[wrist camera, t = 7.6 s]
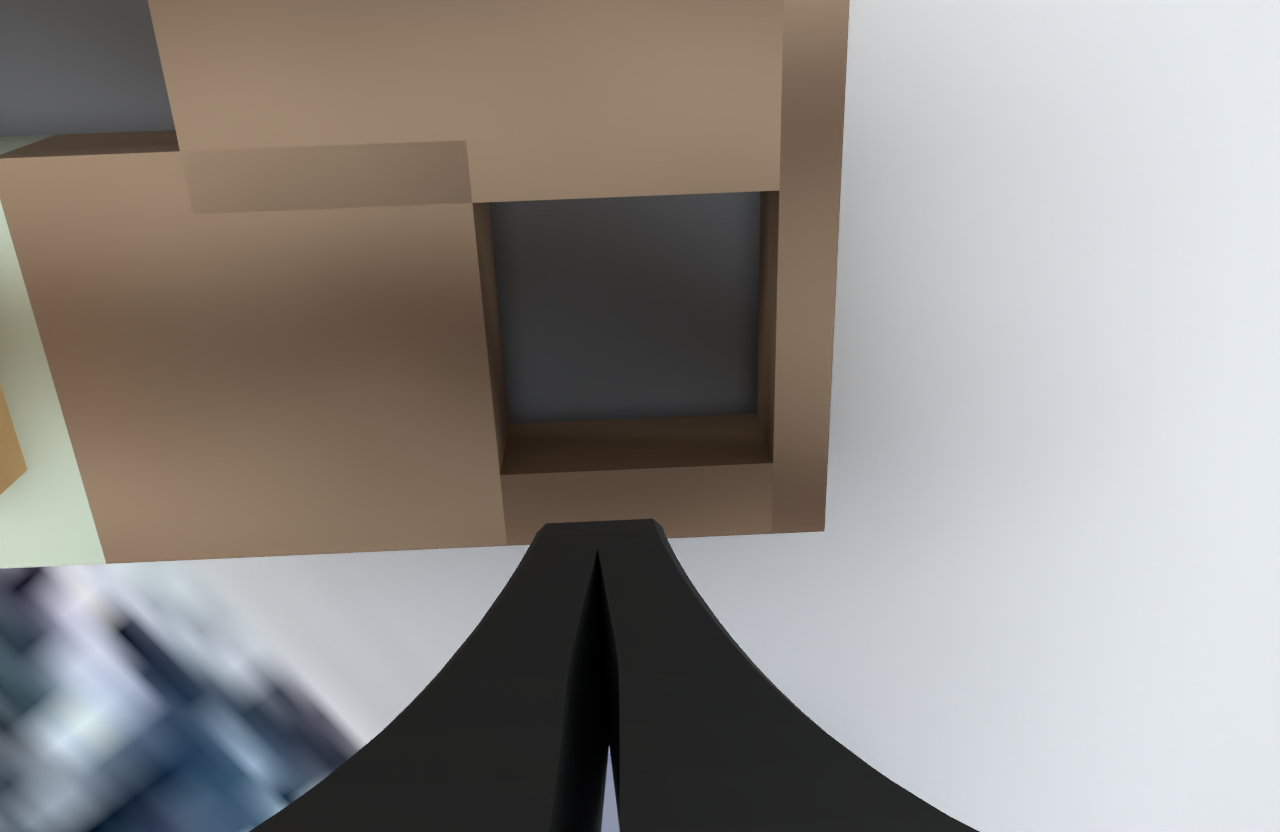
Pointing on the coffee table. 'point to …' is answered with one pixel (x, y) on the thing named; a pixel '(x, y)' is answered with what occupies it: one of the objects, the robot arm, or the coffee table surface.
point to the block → (9, 449)
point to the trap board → (414, 271)
